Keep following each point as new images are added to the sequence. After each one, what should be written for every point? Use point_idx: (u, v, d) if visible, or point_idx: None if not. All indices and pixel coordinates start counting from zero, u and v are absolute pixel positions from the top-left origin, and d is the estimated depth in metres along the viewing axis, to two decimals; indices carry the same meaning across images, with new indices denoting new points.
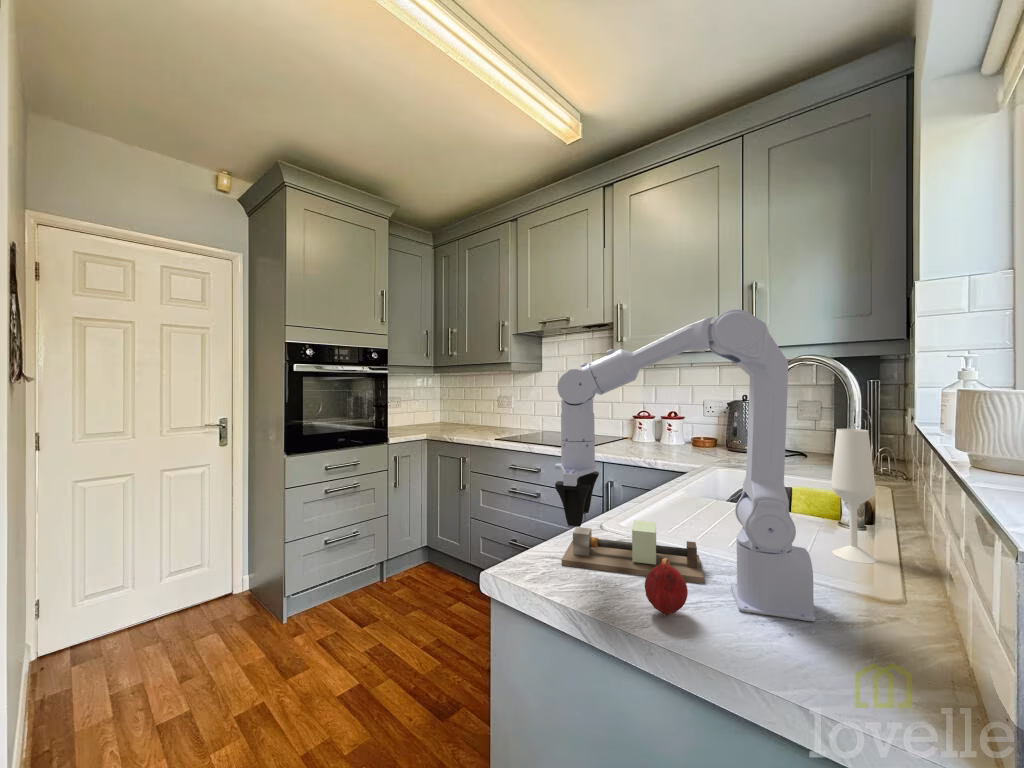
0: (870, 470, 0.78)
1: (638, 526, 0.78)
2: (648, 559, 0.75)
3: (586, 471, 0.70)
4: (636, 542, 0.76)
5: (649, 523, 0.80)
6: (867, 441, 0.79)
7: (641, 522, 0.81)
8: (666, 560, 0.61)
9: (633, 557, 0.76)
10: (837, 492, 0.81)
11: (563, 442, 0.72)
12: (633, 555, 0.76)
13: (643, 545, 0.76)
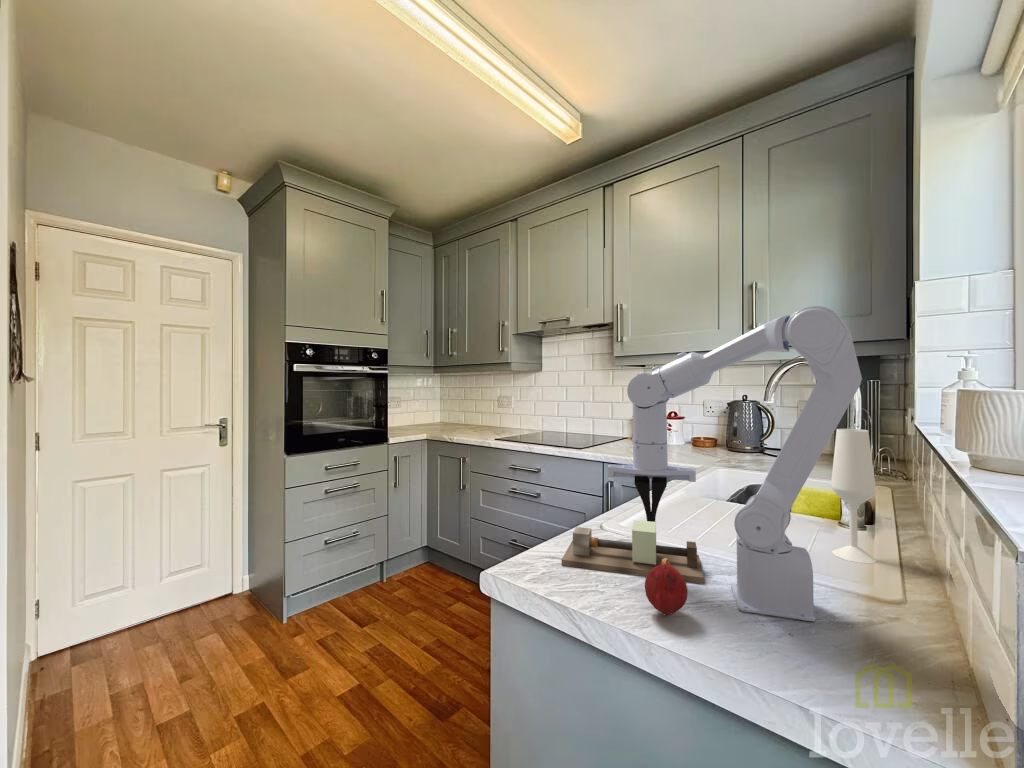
0: (870, 470, 0.78)
1: (638, 526, 0.78)
2: (648, 559, 0.75)
3: (629, 470, 0.74)
4: (636, 542, 0.76)
5: (649, 523, 0.80)
6: (867, 441, 0.79)
7: (641, 522, 0.81)
8: (666, 560, 0.61)
9: (633, 557, 0.76)
10: (837, 492, 0.81)
11: None
12: (633, 555, 0.76)
13: (643, 545, 0.76)
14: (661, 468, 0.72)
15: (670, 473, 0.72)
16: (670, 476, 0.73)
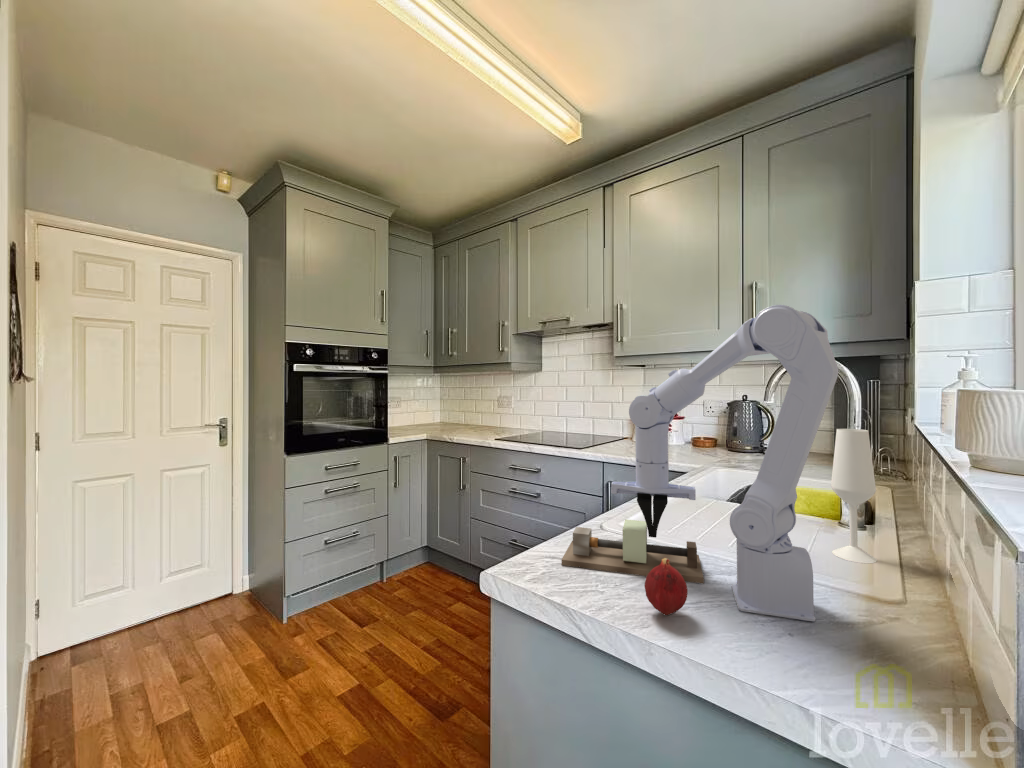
0: (870, 470, 0.78)
1: (629, 525, 0.79)
2: (638, 558, 0.76)
3: (632, 487, 0.77)
4: (626, 541, 0.77)
5: (640, 522, 0.80)
6: (867, 441, 0.79)
7: (632, 521, 0.81)
8: (666, 560, 0.61)
9: (623, 556, 0.77)
10: (837, 492, 0.81)
11: None
12: (623, 554, 0.77)
13: (633, 544, 0.76)
14: (662, 487, 0.75)
15: (671, 491, 0.75)
16: (671, 494, 0.77)
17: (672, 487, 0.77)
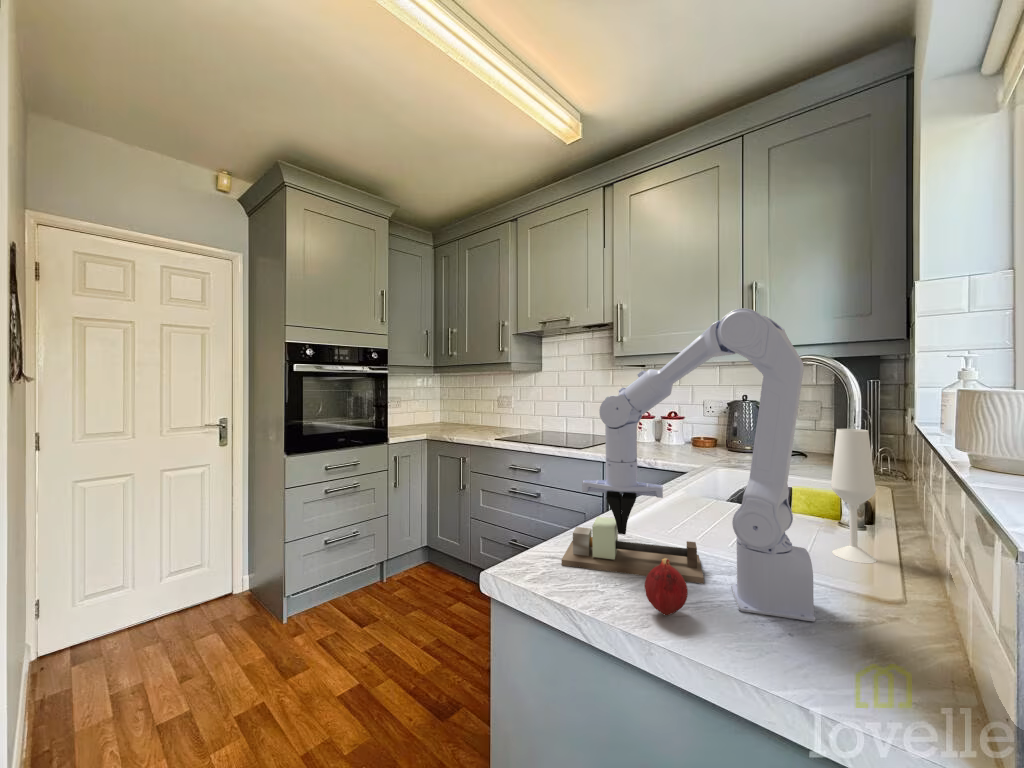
0: (870, 470, 0.78)
1: (599, 523, 0.80)
2: (607, 554, 0.78)
3: (601, 486, 0.79)
4: (596, 538, 0.78)
5: (610, 519, 0.82)
6: (867, 441, 0.79)
7: (603, 518, 0.83)
8: (666, 560, 0.61)
9: (593, 552, 0.79)
10: (837, 492, 0.81)
11: None
12: (593, 550, 0.79)
13: (603, 541, 0.78)
14: (630, 485, 0.77)
15: (639, 489, 0.77)
16: (639, 492, 0.78)
17: (641, 485, 0.79)
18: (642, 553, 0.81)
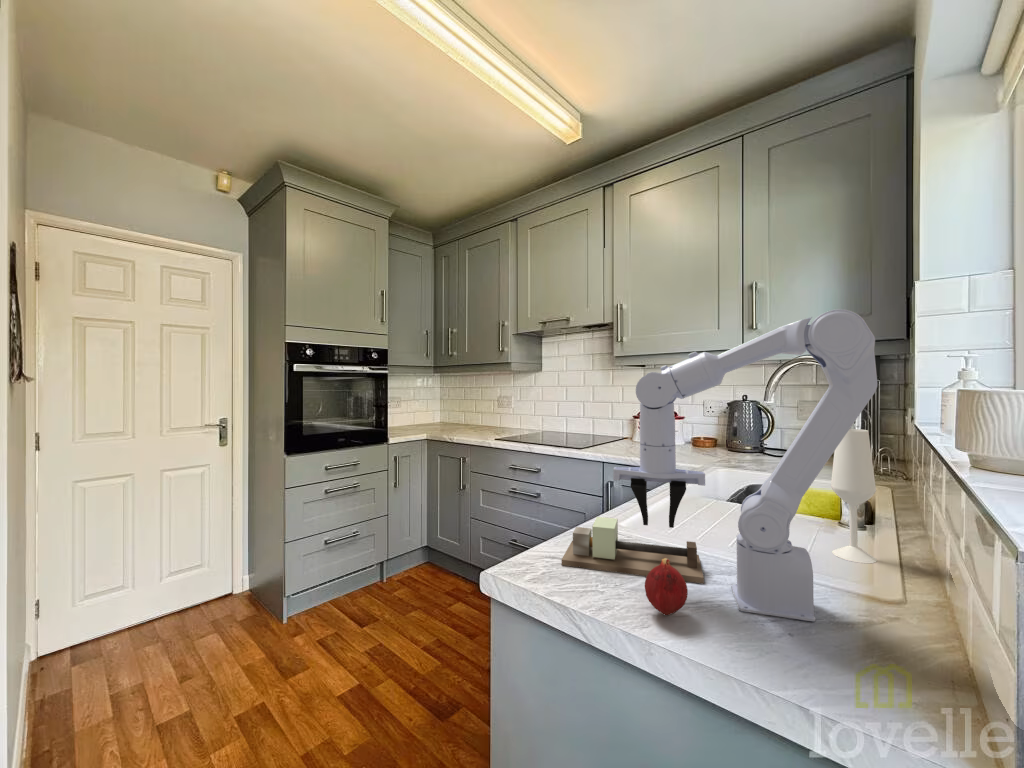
0: (870, 470, 0.78)
1: (599, 523, 0.80)
2: (607, 554, 0.78)
3: (636, 473, 0.71)
4: (596, 538, 0.78)
5: (610, 519, 0.82)
6: (867, 441, 0.79)
7: (603, 518, 0.83)
8: (666, 560, 0.61)
9: (593, 552, 0.79)
10: (837, 492, 0.81)
11: None
12: (593, 550, 0.79)
13: (603, 541, 0.78)
14: (668, 472, 0.69)
15: (678, 476, 0.69)
16: (678, 479, 0.71)
17: (679, 472, 0.71)
18: (642, 553, 0.81)
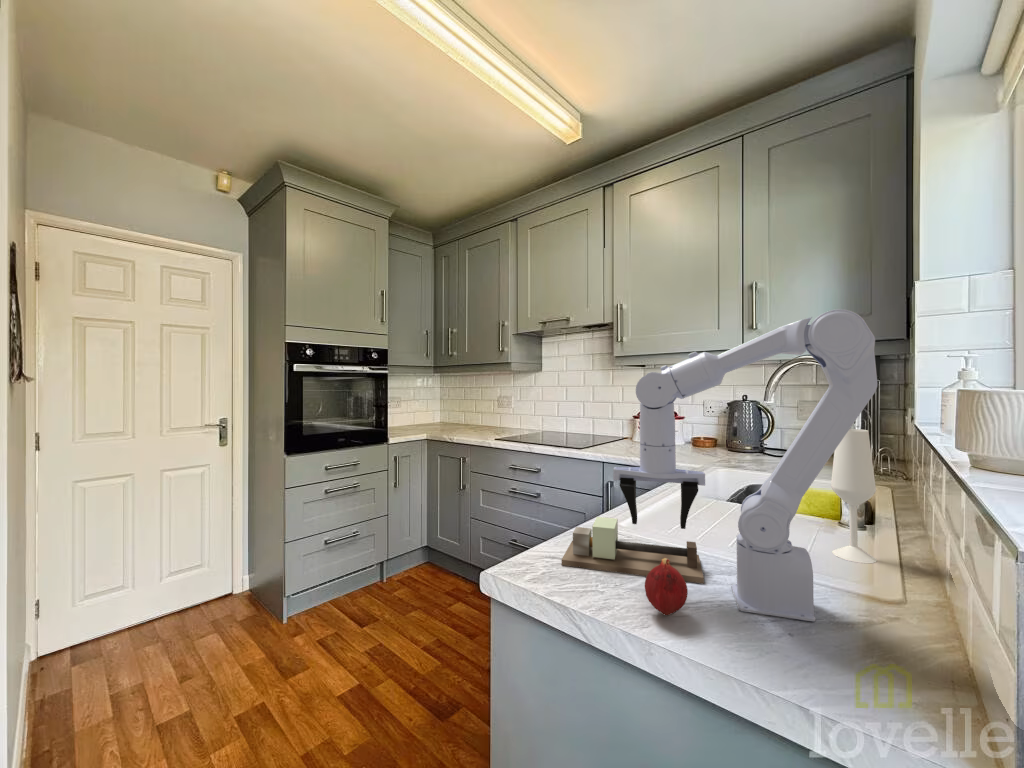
0: (870, 470, 0.78)
1: (599, 523, 0.80)
2: (607, 554, 0.78)
3: (636, 473, 0.71)
4: (596, 538, 0.78)
5: (610, 519, 0.82)
6: (867, 441, 0.79)
7: (603, 518, 0.83)
8: (666, 560, 0.61)
9: (593, 552, 0.79)
10: (837, 492, 0.81)
11: None
12: (593, 550, 0.79)
13: (603, 541, 0.78)
14: (668, 472, 0.69)
15: (678, 476, 0.69)
16: (678, 479, 0.71)
17: (679, 472, 0.71)
18: (642, 553, 0.81)
